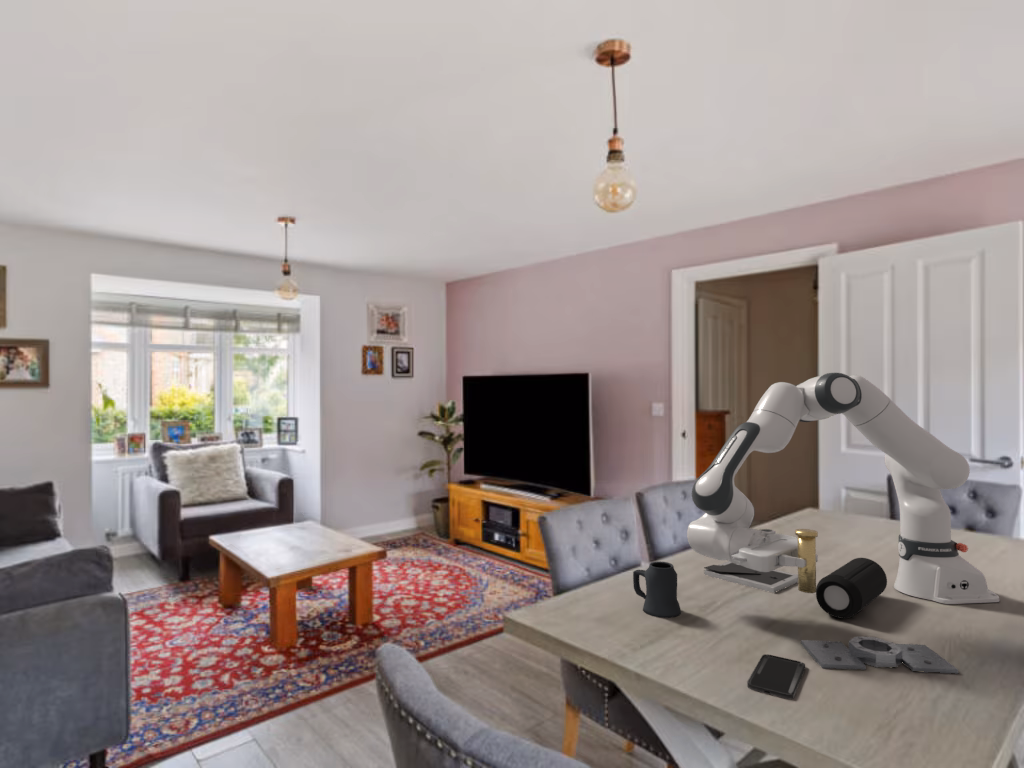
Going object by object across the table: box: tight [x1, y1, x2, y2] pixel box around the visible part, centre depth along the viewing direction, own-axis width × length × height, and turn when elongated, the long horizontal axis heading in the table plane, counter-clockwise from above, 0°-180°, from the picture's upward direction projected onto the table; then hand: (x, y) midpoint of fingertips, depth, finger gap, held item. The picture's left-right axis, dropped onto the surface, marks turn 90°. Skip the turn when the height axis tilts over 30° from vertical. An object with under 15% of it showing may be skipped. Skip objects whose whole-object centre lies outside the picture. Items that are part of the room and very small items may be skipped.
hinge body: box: [800, 636, 959, 675], centre depth 120 cm, size 24×11×2 cm, turn 84°
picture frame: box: [703, 560, 798, 594], centre depth 171 cm, size 16×3×21 cm
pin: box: [794, 528, 819, 594], centre depth 130 cm, size 4×4×13 cm
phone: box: [746, 653, 806, 700], centre depth 112 cm, size 8×1×15 cm
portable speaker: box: [815, 557, 888, 619], centre depth 148 cm, size 26×10×10 cm, turn 134°
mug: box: [632, 561, 682, 619], centre depth 147 cm, size 12×9×11 cm
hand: (811, 561), depth 129 cm, fingers closed on pin, 3 cm apart
